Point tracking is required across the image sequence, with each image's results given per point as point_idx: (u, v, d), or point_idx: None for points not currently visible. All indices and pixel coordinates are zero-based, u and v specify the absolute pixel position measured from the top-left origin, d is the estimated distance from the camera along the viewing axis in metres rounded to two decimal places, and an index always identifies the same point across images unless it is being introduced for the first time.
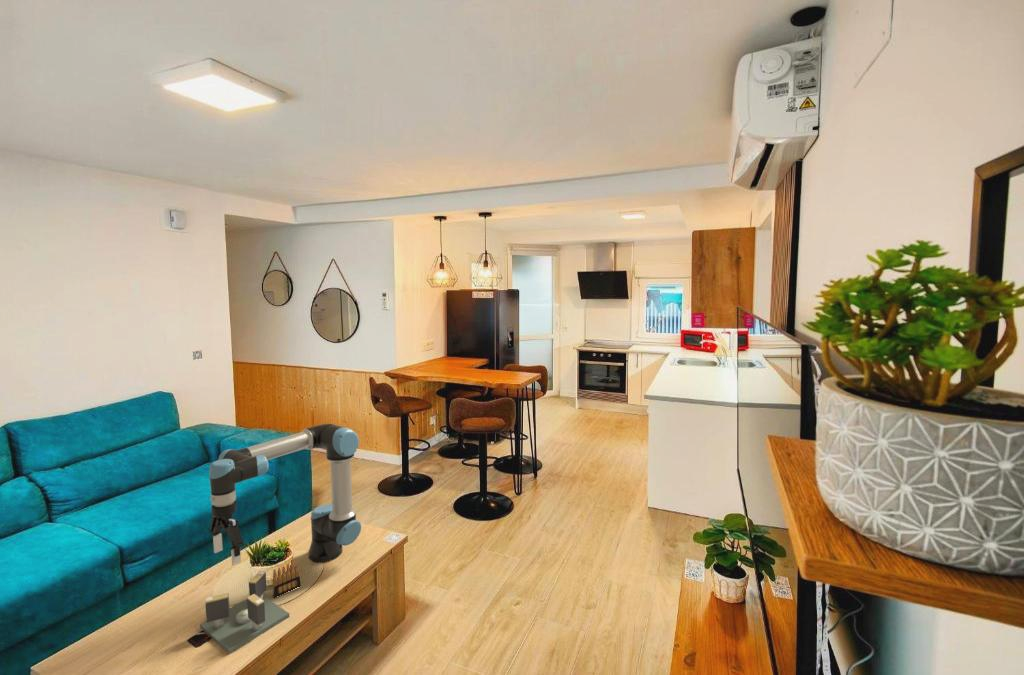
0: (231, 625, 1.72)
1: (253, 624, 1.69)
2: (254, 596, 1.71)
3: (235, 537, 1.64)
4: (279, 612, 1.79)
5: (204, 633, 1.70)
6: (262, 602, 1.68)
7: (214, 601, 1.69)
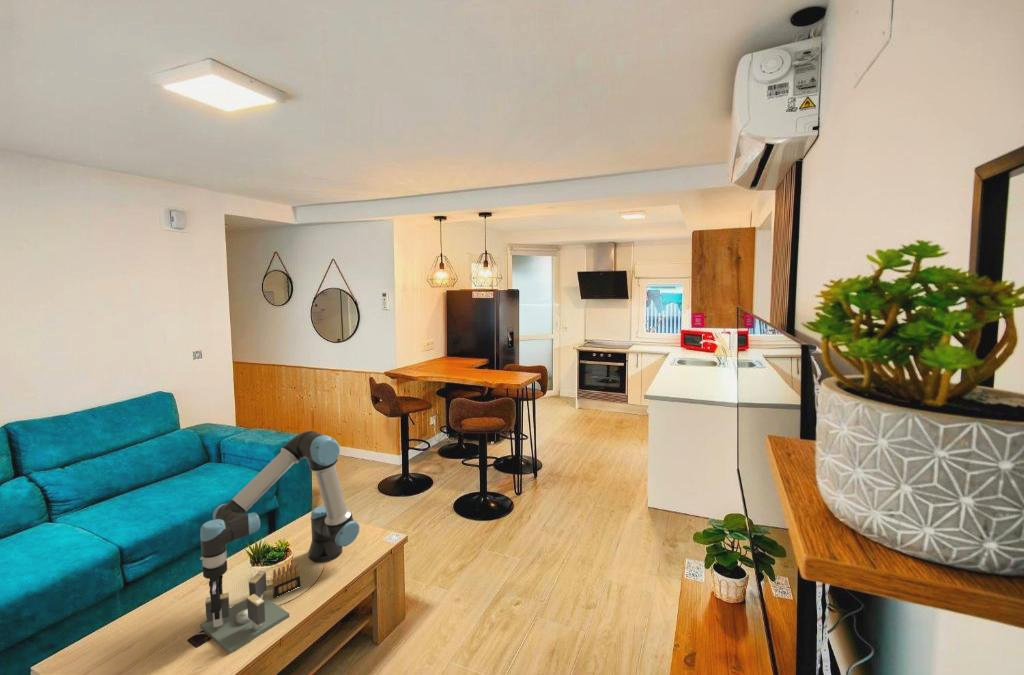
0: (231, 625, 1.72)
1: (253, 624, 1.69)
2: (254, 596, 1.71)
3: (212, 604, 1.65)
4: (279, 612, 1.79)
5: (204, 633, 1.70)
6: (262, 602, 1.68)
7: None
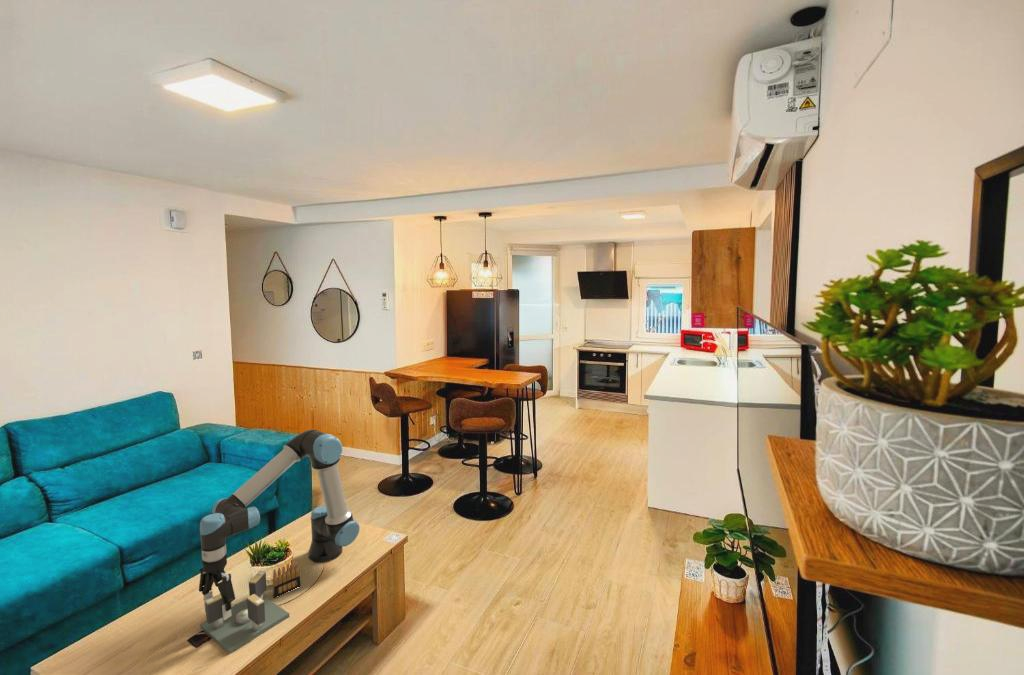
0: (231, 625, 1.72)
1: (253, 624, 1.69)
2: (254, 596, 1.71)
3: (228, 592, 1.66)
4: (279, 612, 1.79)
5: (204, 633, 1.70)
6: (262, 602, 1.68)
7: (216, 601, 1.69)
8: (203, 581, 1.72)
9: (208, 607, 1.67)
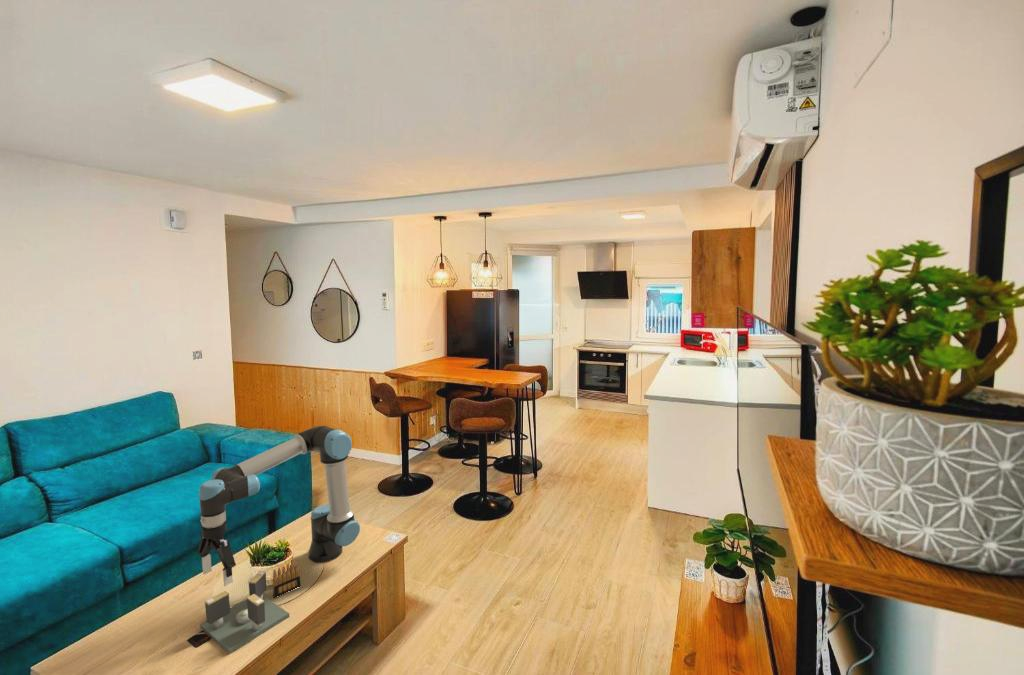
0: (231, 625, 1.72)
1: (253, 624, 1.69)
2: (254, 596, 1.71)
3: (227, 558, 1.64)
4: (279, 612, 1.79)
5: (204, 633, 1.70)
6: (262, 602, 1.68)
7: (216, 601, 1.69)
8: (202, 545, 1.71)
9: (209, 607, 1.67)
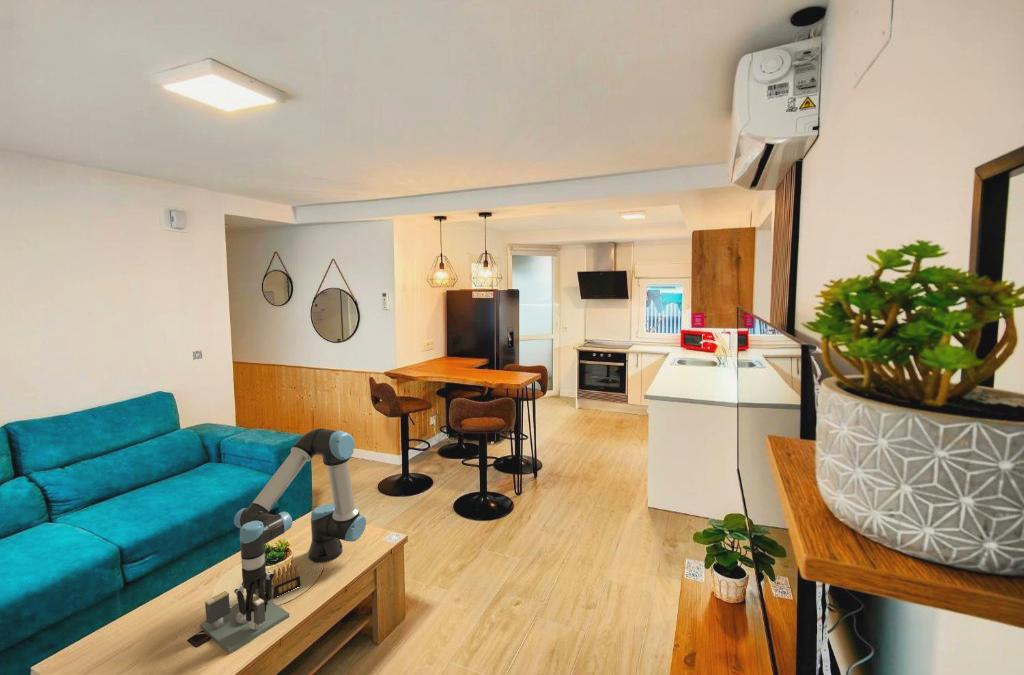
0: (231, 625, 1.72)
1: None
2: (254, 596, 1.71)
3: (239, 604, 1.65)
4: (279, 612, 1.79)
5: (204, 633, 1.70)
6: (262, 602, 1.68)
7: (217, 601, 1.69)
8: (266, 587, 1.73)
9: (209, 607, 1.67)
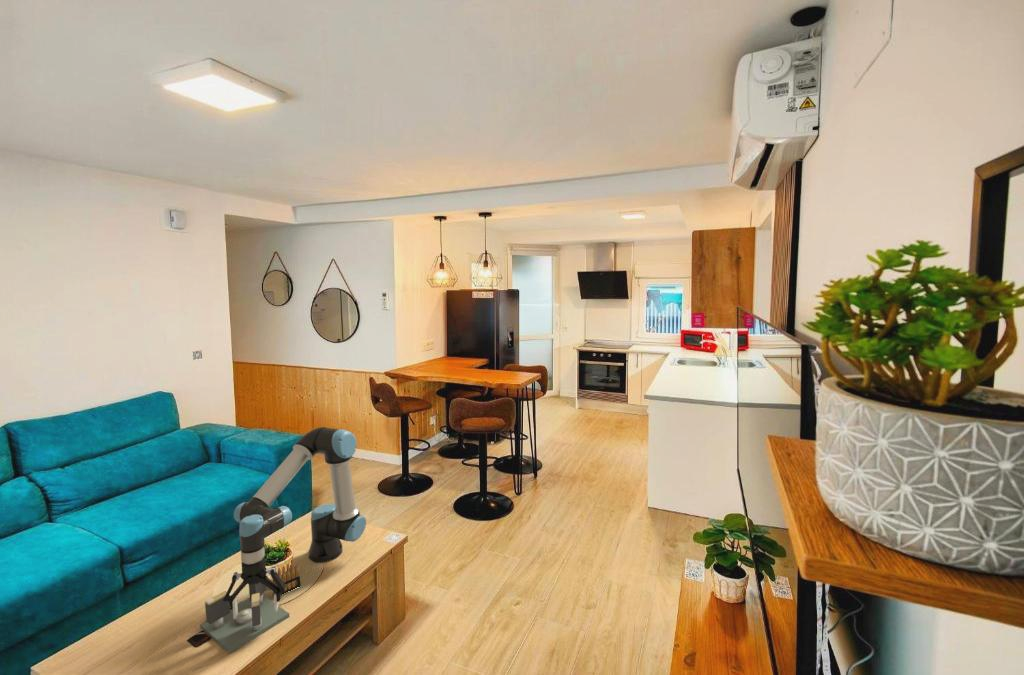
0: (231, 625, 1.72)
1: None
2: (257, 595, 1.72)
3: None
4: (279, 612, 1.79)
5: (204, 633, 1.70)
6: (257, 605, 1.67)
7: (217, 601, 1.69)
8: None
9: (209, 607, 1.67)
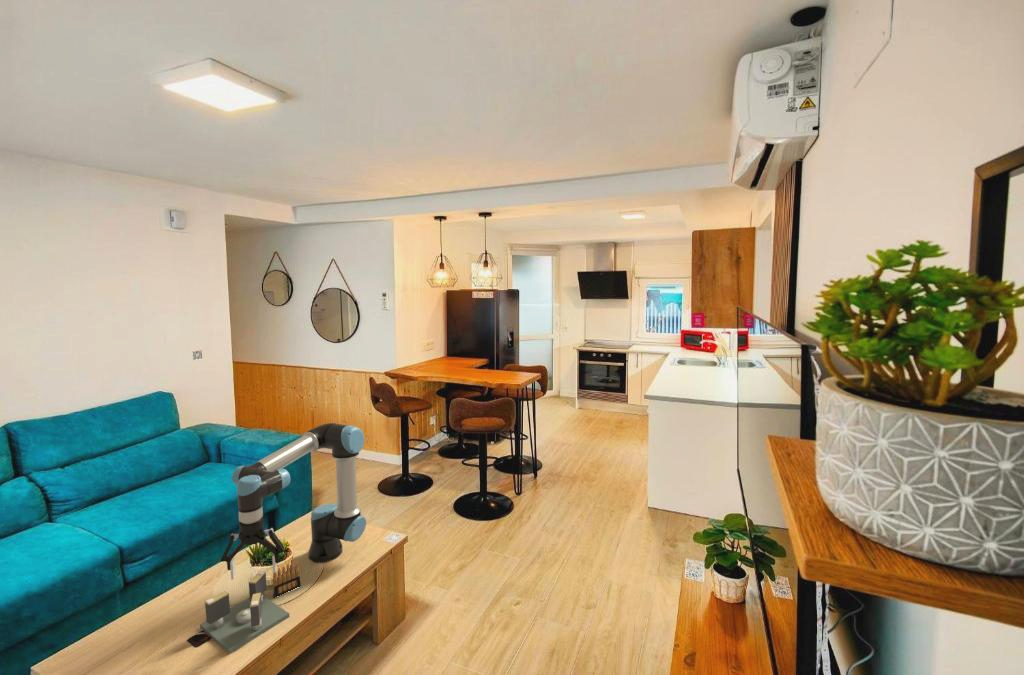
0: (231, 625, 1.72)
1: None
2: (257, 595, 1.72)
3: None
4: (279, 612, 1.79)
5: (204, 633, 1.70)
6: (256, 605, 1.67)
7: (217, 601, 1.69)
8: None
9: (209, 607, 1.67)
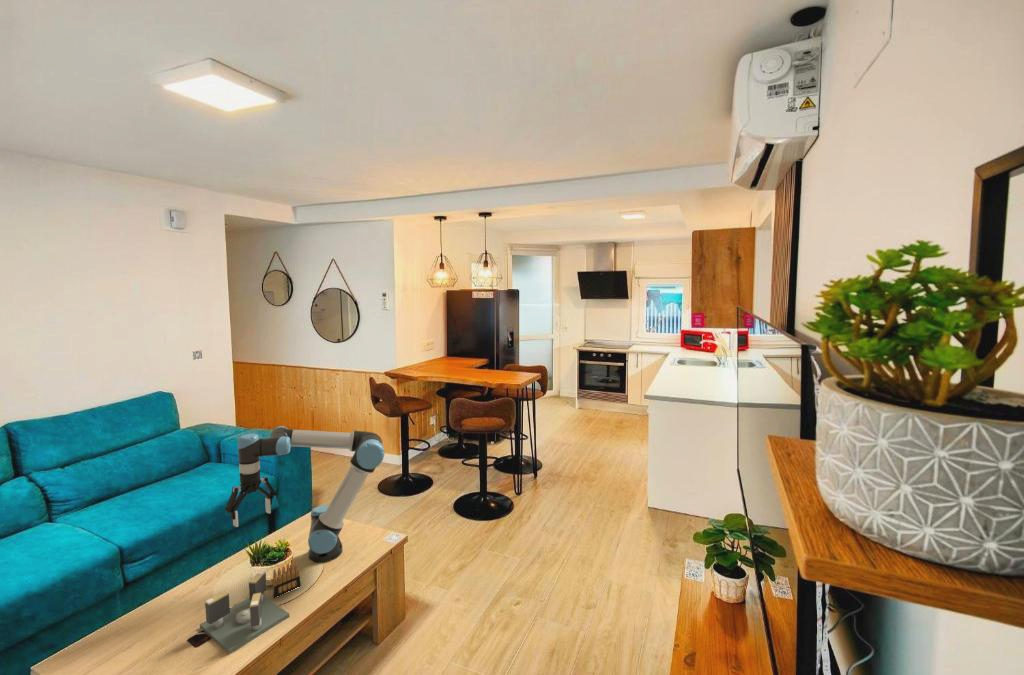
0: (231, 625, 1.72)
1: None
2: (258, 595, 1.72)
3: (228, 501, 1.88)
4: (279, 612, 1.79)
5: (204, 633, 1.70)
6: (256, 605, 1.67)
7: (217, 601, 1.69)
8: (267, 487, 2.02)
9: (209, 607, 1.67)
